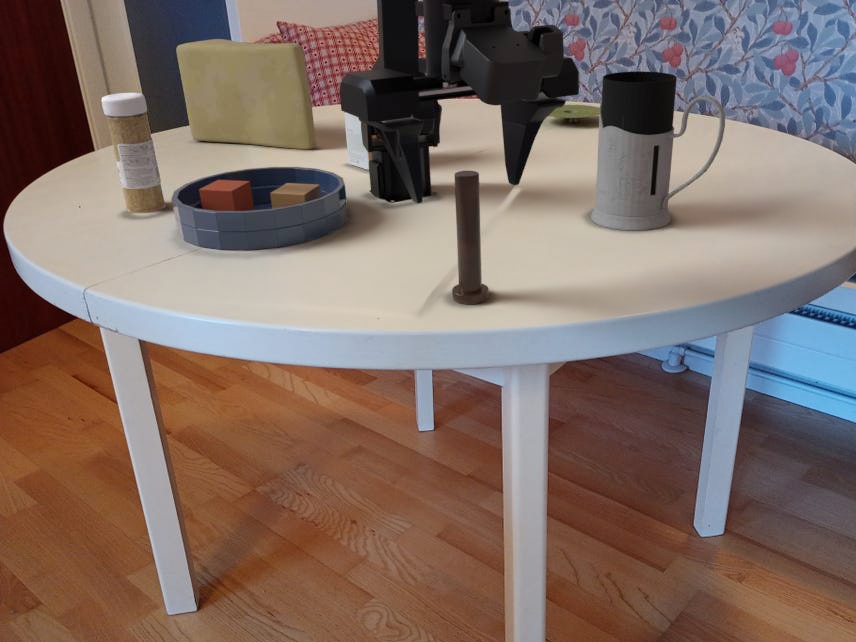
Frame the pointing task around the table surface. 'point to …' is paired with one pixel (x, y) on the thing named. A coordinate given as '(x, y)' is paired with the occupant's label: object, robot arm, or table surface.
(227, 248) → the bowl
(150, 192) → the sprinkles bottle
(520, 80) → the robot arm
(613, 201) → the glass holder
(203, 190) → the terracotta block
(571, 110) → the olive green disc
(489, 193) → the table surface
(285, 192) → the wood block
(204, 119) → the cheese
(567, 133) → the table surface
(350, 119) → the small box
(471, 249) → the stirring stick
